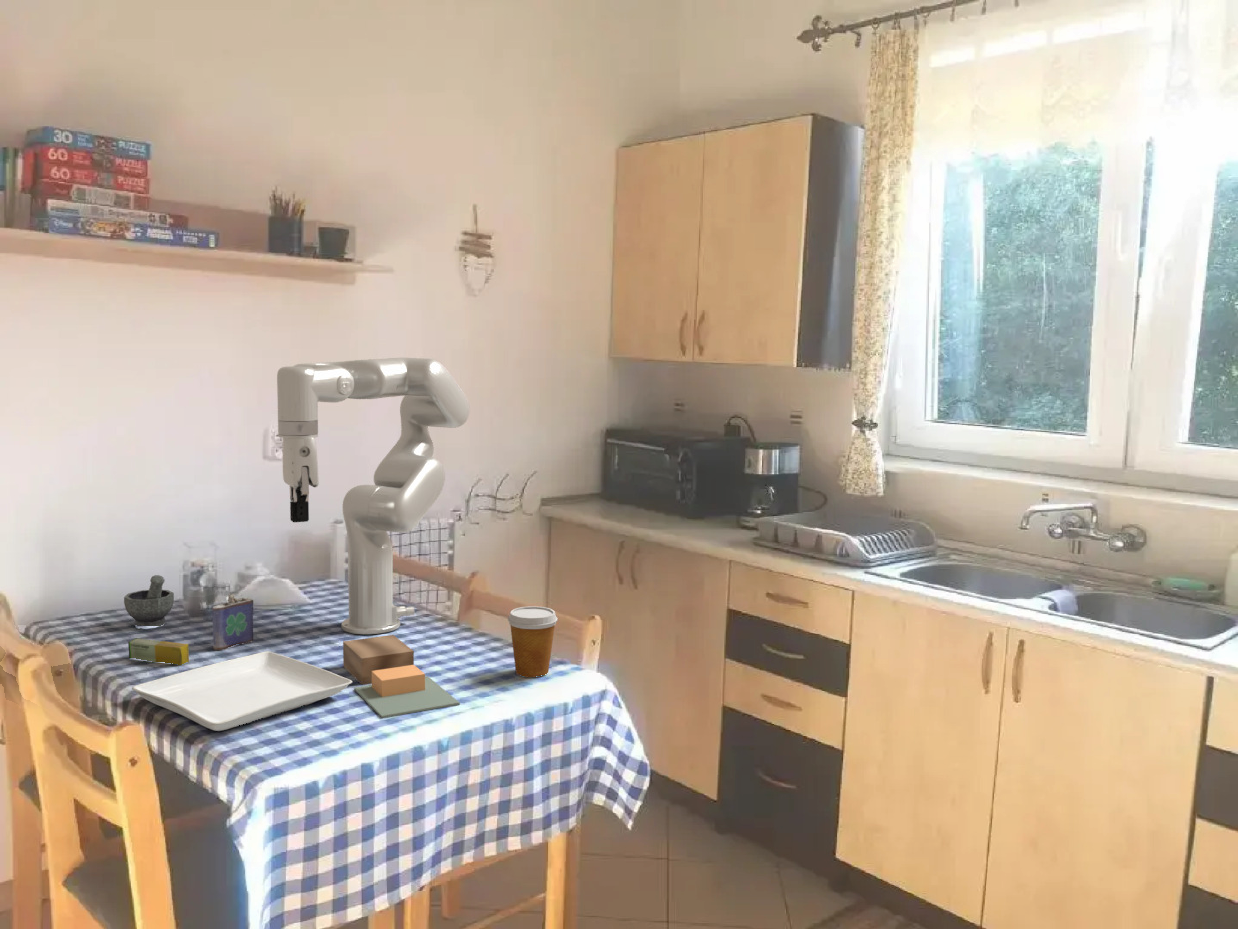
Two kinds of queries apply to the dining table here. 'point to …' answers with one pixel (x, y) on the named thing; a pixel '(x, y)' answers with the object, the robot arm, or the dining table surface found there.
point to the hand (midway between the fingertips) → (299, 521)
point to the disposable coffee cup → (532, 639)
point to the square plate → (242, 689)
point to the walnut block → (375, 656)
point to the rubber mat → (407, 700)
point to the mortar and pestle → (150, 604)
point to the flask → (232, 622)
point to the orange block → (398, 680)
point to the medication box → (158, 651)
